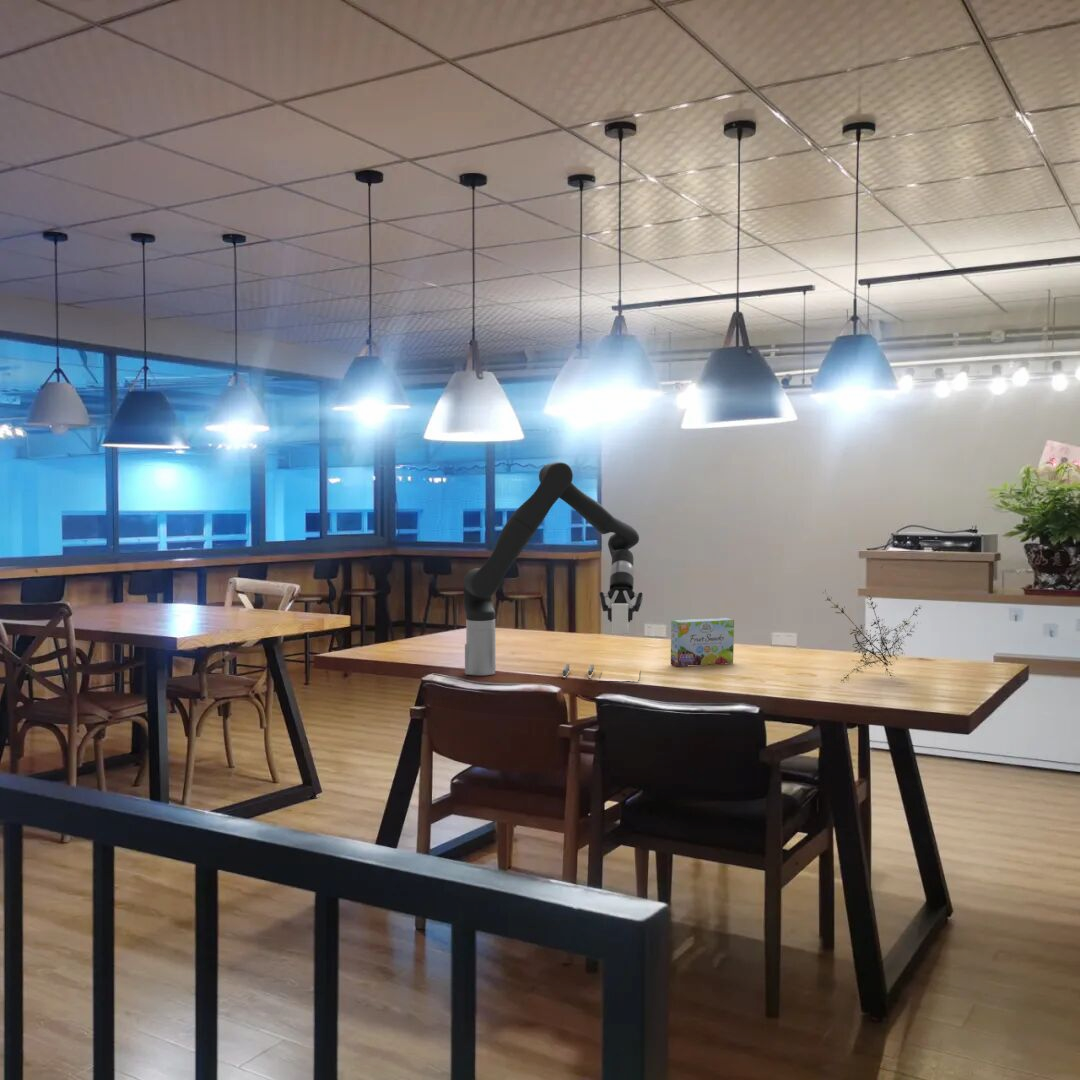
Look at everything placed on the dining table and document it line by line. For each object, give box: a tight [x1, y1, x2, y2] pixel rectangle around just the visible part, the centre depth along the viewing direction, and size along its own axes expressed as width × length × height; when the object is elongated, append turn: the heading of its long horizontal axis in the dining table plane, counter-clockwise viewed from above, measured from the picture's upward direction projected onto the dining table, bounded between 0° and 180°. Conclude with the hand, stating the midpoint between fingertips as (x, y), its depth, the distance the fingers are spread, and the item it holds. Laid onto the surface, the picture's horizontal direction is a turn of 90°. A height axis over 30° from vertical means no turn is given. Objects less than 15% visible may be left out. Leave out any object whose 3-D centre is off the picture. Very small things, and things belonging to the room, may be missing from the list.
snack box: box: [670, 617, 735, 667], centre depth 351 cm, size 21×6×15 cm, turn 112°
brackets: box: [562, 663, 595, 677], centre depth 331 cm, size 9×12×2 cm
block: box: [611, 603, 630, 635], centre depth 328 cm, size 5×5×9 cm
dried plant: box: [822, 588, 922, 683], centre depth 311 cm, size 30×31×45 cm
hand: (620, 620), depth 327 cm, fingers closed on block, 5 cm apart
